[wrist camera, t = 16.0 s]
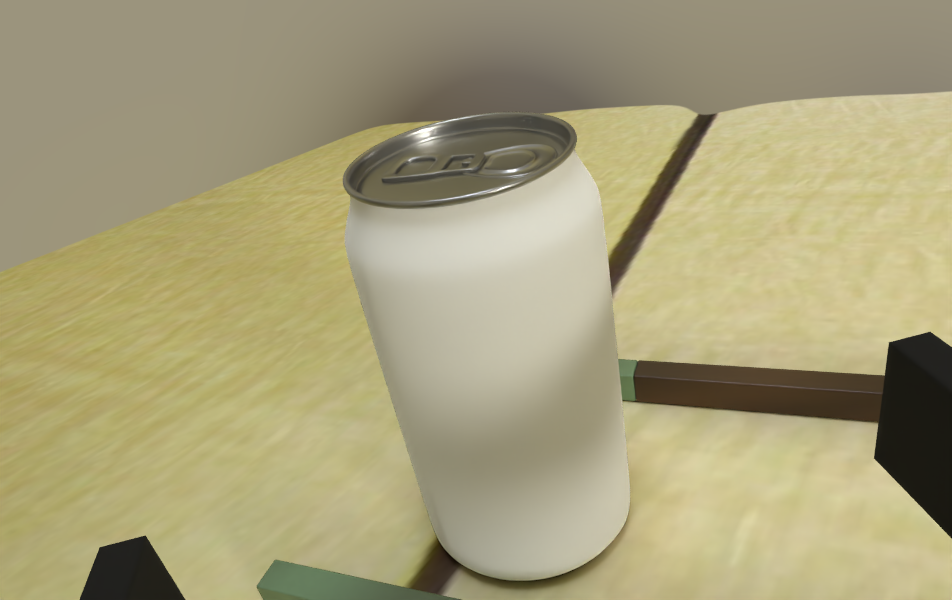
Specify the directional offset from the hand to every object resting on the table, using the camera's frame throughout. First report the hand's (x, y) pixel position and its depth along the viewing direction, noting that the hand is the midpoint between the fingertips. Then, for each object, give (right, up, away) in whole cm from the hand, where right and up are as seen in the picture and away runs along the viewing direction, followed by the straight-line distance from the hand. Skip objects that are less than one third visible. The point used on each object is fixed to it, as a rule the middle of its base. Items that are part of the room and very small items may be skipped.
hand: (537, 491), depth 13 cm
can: (+1, -3, +10) cm, 11 cm away
